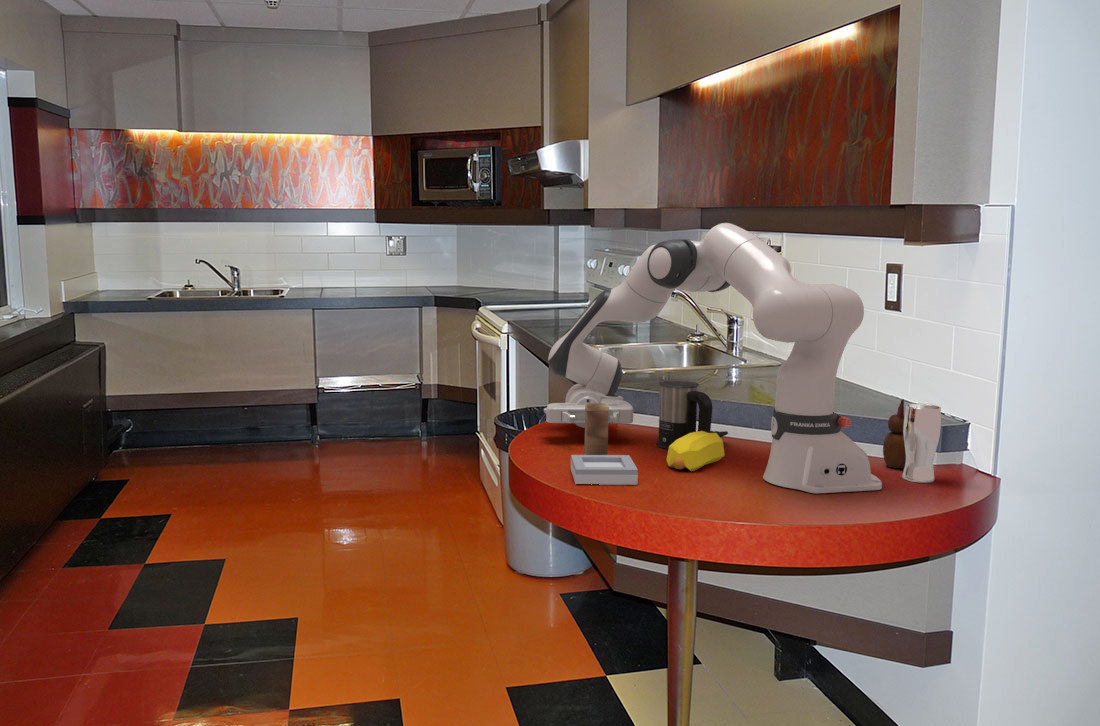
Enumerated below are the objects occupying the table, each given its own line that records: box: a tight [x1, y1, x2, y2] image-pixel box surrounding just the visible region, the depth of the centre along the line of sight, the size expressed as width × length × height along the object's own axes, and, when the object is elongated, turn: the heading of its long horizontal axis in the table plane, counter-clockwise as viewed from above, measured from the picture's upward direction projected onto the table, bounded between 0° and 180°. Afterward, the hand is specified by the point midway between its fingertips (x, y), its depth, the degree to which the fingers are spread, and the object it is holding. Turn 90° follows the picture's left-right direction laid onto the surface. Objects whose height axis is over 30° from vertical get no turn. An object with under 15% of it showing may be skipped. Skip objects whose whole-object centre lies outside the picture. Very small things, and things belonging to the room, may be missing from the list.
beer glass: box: [901, 402, 942, 484], centre depth 185 cm, size 7×7×15 cm
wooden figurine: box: [882, 398, 905, 469], centre depth 195 cm, size 7×6×15 cm
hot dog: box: [665, 430, 726, 472], centre depth 195 cm, size 18×7×8 cm
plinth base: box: [570, 454, 639, 486], centre depth 183 cm, size 12×12×3 cm
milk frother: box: [656, 380, 729, 450], centre depth 212 cm, size 14×16×15 cm
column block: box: [583, 403, 609, 455], centre depth 196 cm, size 5×5×12 cm
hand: (592, 419), depth 206 cm, fingers open, 8 cm apart
